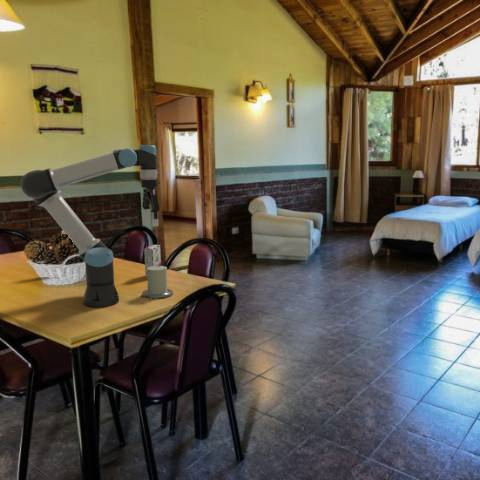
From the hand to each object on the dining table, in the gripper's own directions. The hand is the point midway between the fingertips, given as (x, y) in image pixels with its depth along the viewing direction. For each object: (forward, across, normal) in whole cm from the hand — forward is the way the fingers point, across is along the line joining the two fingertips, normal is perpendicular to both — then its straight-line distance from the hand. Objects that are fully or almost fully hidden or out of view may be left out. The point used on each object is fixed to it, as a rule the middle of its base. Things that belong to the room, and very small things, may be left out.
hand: (151, 224), depth 220 cm
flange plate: (+32, -8, +1) cm, 33 cm away
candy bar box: (+32, +27, -8) cm, 43 cm away
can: (+31, -8, +1) cm, 32 cm away
